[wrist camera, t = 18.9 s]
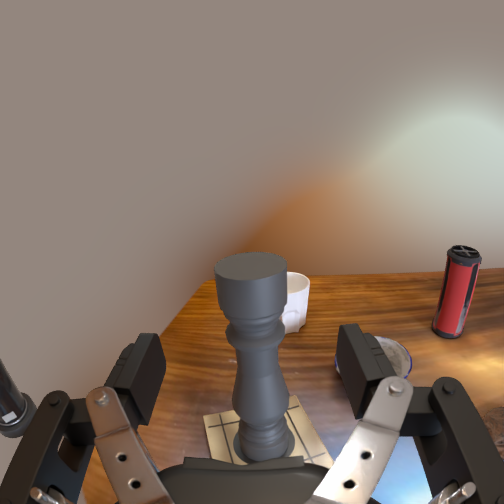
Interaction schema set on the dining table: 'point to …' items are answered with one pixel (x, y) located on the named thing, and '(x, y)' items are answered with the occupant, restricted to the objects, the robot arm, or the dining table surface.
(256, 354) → the candle holder
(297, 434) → the board
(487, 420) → the rock
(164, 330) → the dining table surface
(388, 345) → the bowl
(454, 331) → the speaker
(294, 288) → the cup
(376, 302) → the dining table surface
